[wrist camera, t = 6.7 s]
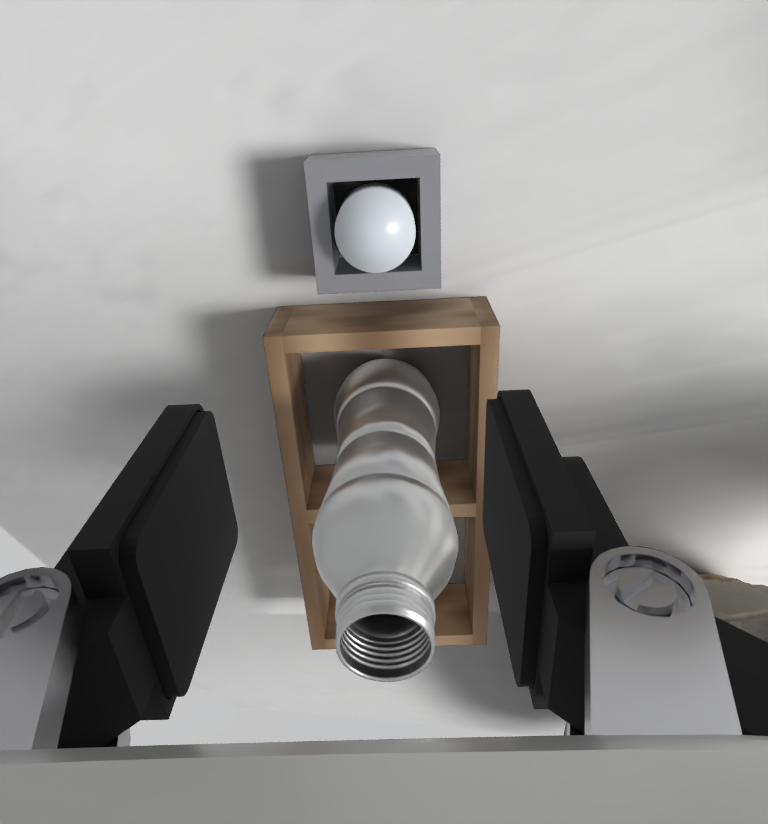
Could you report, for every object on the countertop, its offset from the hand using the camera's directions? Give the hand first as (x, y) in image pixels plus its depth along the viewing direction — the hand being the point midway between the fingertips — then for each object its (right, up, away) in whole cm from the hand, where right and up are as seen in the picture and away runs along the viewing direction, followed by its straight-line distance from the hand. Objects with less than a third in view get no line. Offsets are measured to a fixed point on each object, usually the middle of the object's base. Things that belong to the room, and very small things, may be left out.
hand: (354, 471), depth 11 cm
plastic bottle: (+1, +2, +28) cm, 28 cm away
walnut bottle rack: (+1, -3, +30) cm, 31 cm away
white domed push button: (0, +11, +20) cm, 23 cm away
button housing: (0, +12, +22) cm, 25 cm away
